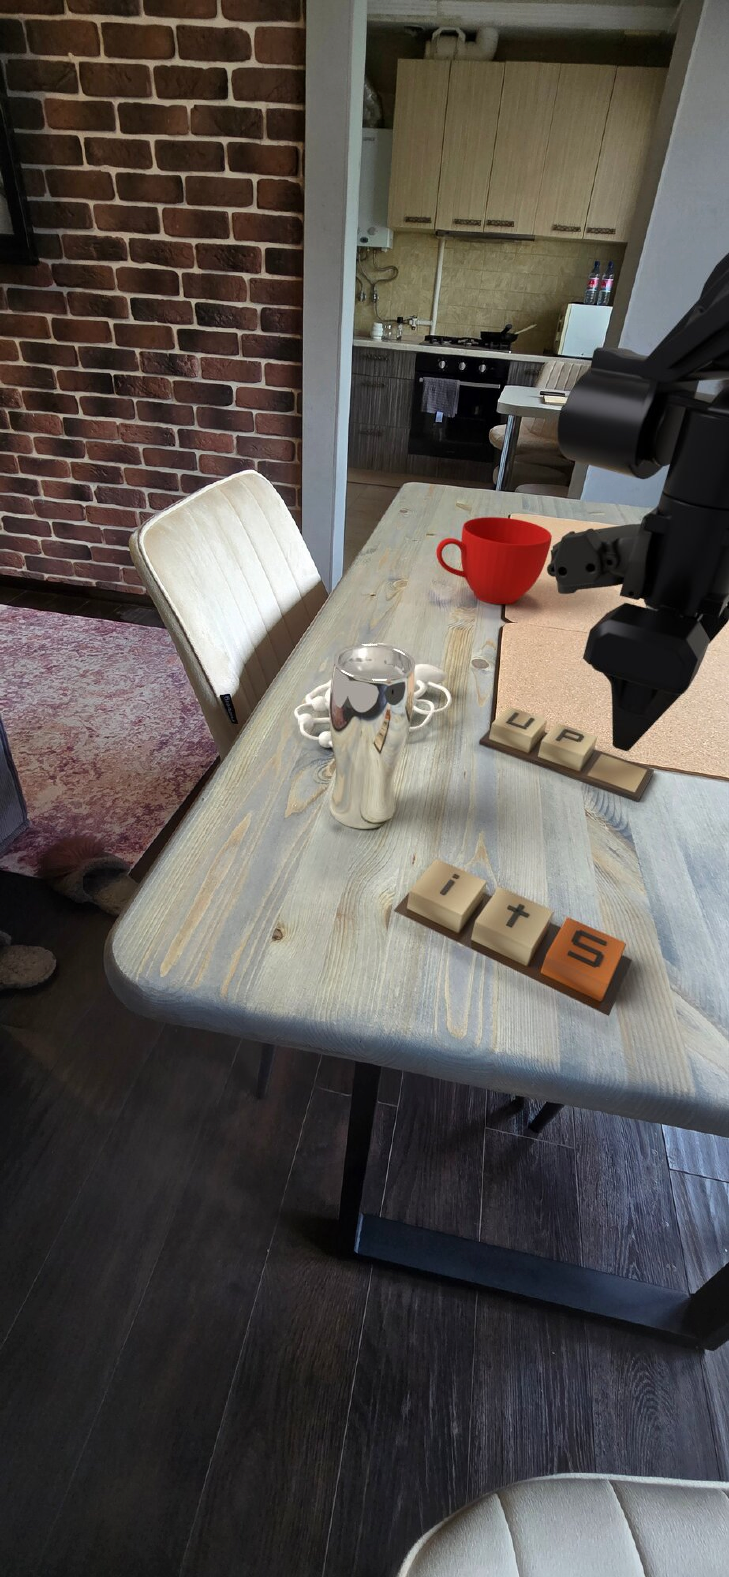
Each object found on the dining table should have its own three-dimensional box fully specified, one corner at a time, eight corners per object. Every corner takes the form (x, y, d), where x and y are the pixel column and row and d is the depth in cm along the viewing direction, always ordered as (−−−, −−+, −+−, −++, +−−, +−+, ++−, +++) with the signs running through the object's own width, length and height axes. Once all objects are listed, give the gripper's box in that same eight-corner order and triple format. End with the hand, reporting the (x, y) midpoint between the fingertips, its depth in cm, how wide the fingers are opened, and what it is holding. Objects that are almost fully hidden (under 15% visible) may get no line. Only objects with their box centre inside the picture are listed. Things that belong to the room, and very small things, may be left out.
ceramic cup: (418, 582, 115) (425, 517, 110) (517, 579, 119) (529, 516, 114) (445, 616, 105) (455, 546, 100) (552, 611, 109) (568, 544, 104)
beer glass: (402, 790, 70) (419, 646, 62) (397, 837, 65) (416, 686, 56) (330, 782, 71) (337, 638, 62) (319, 827, 65) (325, 676, 56)
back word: (653, 773, 76) (660, 752, 74) (637, 802, 72) (645, 780, 70) (501, 720, 82) (505, 700, 81) (478, 743, 78) (482, 722, 77)
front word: (630, 963, 55) (640, 939, 53) (606, 1019, 51) (616, 995, 49) (428, 872, 61) (432, 848, 60) (392, 914, 57) (395, 890, 56)
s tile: (619, 961, 54) (627, 941, 53) (601, 1002, 51) (609, 983, 50) (561, 934, 56) (567, 915, 55) (540, 973, 53) (546, 953, 52)
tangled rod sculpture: (370, 785, 73) (375, 752, 70) (261, 723, 78) (262, 691, 76) (467, 707, 85) (475, 677, 83) (367, 659, 91) (371, 629, 88)
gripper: (623, 452, 54) (574, 647, 63) (528, 501, 41) (484, 739, 50) (786, 480, 50) (708, 686, 59) (737, 545, 37) (647, 797, 46)
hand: (638, 721), depth 53 cm, fingers open, 9 cm apart
